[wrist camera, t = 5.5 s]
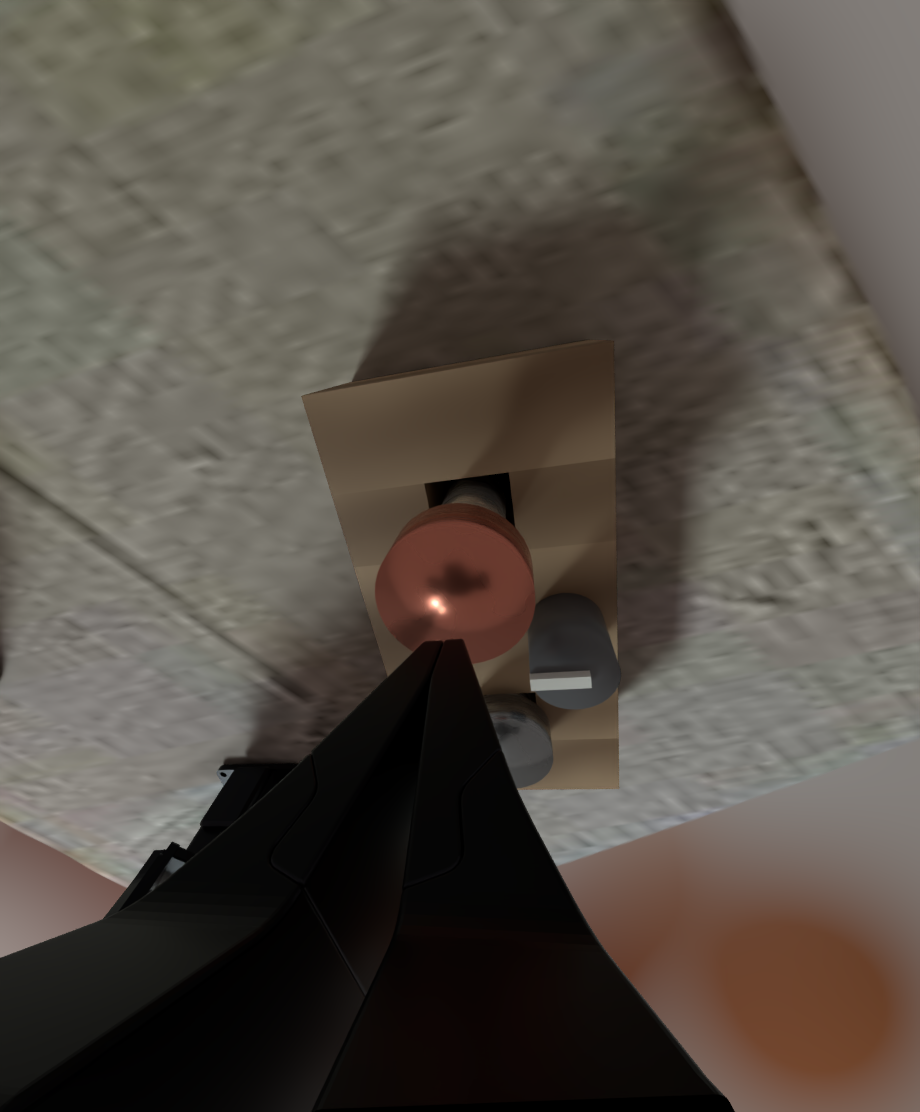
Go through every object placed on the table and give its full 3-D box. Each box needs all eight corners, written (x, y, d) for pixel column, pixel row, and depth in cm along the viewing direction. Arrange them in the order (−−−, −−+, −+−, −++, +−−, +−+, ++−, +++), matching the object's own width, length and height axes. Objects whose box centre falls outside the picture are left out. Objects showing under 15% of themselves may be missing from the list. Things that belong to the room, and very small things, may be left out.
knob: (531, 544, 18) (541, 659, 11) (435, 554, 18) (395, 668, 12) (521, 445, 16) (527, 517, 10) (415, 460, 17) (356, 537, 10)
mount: (600, 710, 26) (619, 788, 21) (437, 717, 27) (422, 790, 23) (588, 339, 17) (613, 340, 13) (351, 381, 19) (301, 396, 14)
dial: (604, 652, 18) (622, 714, 15) (530, 656, 18) (534, 717, 15) (602, 589, 16) (622, 644, 14) (523, 596, 17) (526, 650, 14)
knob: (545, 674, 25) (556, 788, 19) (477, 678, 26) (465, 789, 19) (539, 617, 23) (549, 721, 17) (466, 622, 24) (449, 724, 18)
